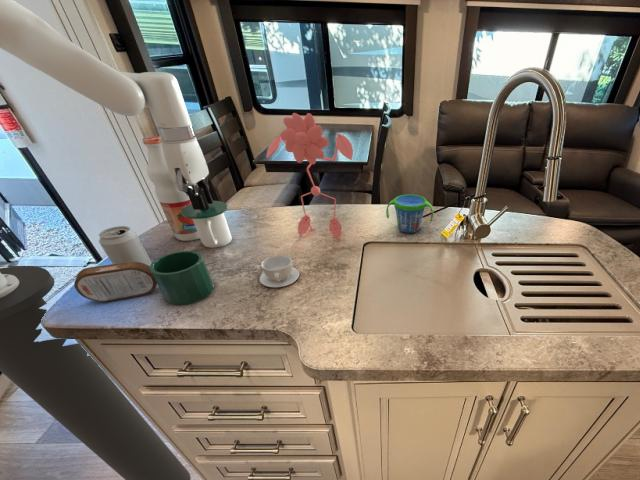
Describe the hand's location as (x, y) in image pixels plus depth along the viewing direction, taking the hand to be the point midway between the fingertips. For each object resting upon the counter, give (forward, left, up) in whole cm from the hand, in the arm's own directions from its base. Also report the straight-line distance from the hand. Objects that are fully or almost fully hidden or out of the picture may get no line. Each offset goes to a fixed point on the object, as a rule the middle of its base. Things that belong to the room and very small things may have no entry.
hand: (203, 205), depth 89 cm
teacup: (+17, -24, -12) cm, 32 cm away
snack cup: (+60, -6, -12) cm, 62 cm away
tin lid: (0, 0, -1) cm, 1 cm away
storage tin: (-4, -24, -12) cm, 27 cm away
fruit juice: (-8, +9, -12) cm, 17 cm away
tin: (-18, -22, -12) cm, 31 cm away
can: (-18, -11, -12) cm, 24 cm away
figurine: (+29, -6, -12) cm, 32 cm away
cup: (0, 0, -12) cm, 12 cm away
